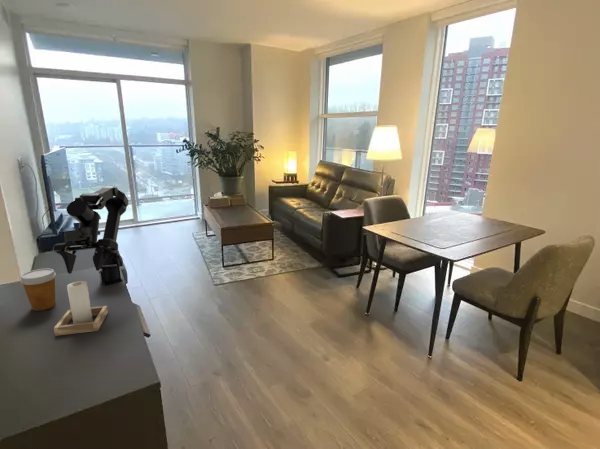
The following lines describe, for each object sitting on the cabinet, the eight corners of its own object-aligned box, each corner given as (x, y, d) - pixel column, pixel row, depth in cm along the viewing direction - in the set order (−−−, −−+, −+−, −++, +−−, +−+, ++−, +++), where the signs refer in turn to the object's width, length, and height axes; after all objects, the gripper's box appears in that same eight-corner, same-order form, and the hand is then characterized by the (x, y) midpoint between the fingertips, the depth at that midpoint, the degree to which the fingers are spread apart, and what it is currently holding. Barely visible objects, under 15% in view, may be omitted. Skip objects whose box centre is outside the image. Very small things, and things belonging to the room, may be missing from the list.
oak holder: (69, 316, 106) (68, 309, 105) (108, 312, 109) (107, 305, 108) (55, 335, 96) (53, 328, 95) (97, 330, 99) (96, 323, 98)
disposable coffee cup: (67, 300, 117) (62, 268, 114) (45, 314, 108) (38, 279, 105) (42, 299, 118) (36, 267, 115) (18, 312, 108) (10, 278, 105)
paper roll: (90, 317, 106) (84, 279, 103) (94, 323, 102) (88, 283, 99) (71, 323, 102) (64, 283, 99) (76, 329, 99) (68, 289, 96)
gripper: (44, 222, 107) (36, 270, 101) (102, 216, 107) (96, 263, 102) (67, 232, 117) (61, 276, 112) (120, 227, 117) (116, 270, 112)
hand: (83, 272), depth 109 cm, fingers open, 9 cm apart
